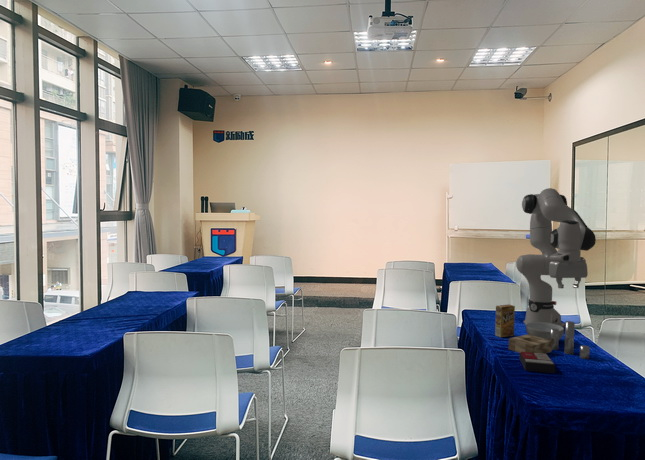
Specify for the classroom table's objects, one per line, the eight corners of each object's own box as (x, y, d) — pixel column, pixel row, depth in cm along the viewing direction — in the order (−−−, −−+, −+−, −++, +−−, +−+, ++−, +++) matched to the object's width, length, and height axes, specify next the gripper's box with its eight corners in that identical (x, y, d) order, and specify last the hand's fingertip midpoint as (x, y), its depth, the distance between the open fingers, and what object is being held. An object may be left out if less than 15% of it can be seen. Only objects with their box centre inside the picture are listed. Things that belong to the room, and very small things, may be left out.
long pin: (567, 351, 209) (568, 320, 209) (574, 353, 206) (576, 322, 206) (562, 352, 208) (563, 321, 207) (570, 354, 205) (571, 323, 204)
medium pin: (552, 347, 215) (553, 328, 215) (559, 349, 212) (560, 329, 212) (547, 348, 214) (548, 329, 213) (555, 350, 210) (556, 331, 210)
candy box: (500, 337, 230) (501, 307, 229) (494, 335, 233) (495, 305, 232) (514, 335, 233) (515, 305, 232) (507, 333, 237) (509, 304, 236)
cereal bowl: (528, 333, 237) (528, 320, 237) (565, 339, 228) (565, 325, 228) (522, 342, 223) (523, 327, 222) (561, 348, 214) (562, 333, 214)
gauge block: (527, 344, 219) (527, 334, 219) (551, 351, 209) (551, 340, 208) (508, 349, 212) (508, 338, 211) (532, 357, 201) (532, 345, 201)
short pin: (582, 355, 204) (583, 344, 203) (590, 358, 200) (591, 347, 200) (577, 357, 202) (578, 346, 201) (586, 359, 199) (586, 348, 198)
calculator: (546, 352, 197) (555, 363, 182) (546, 363, 197) (555, 373, 182) (519, 350, 200) (525, 360, 185) (518, 360, 200) (525, 371, 185)
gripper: (578, 256, 212) (578, 286, 212) (546, 256, 204) (545, 287, 204) (591, 257, 207) (591, 288, 206) (559, 257, 198) (558, 289, 198)
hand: (568, 288), depth 205 cm, fingers open, 8 cm apart
